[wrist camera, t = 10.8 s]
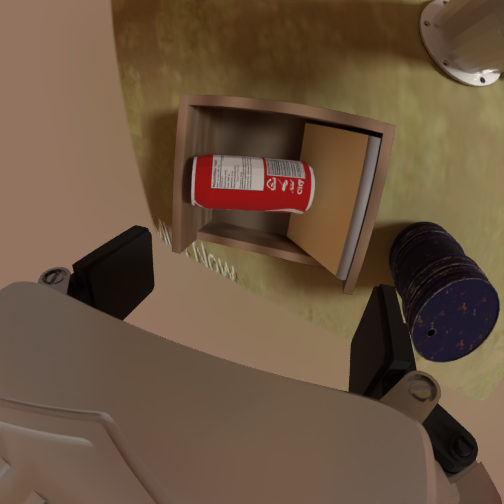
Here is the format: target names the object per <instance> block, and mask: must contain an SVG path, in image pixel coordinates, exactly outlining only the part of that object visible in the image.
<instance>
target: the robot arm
mask: <svg viewBox="0 0 504 504" xmlns="http://www.w3.org/2000/svg"><path fill="white" fill-rule="evenodd" d="M424 24H425V25H426V26H425V25H424ZM419 28H420V34H421V38H422V41H423V43H424V45H425V47H426V49H427V51H428V53H429V54H430V56H431V57H432V59H433V60H434V61H435V62H436V64H437V65H438V66H439V67H440V68H441V69H442V70H443V71H444V72H445V73H446V74H448V75H449V76H450V77H452V78H453V79H455V80H457V81H458V82H460V83H462V84H465V85H468V86H472V87H484V86H488V85H491V84H493V83H494V82H495V81H496V80H497V79H498V78H499V77H500V75H501V73H502V72H504V0H434V1H432V2H430V3H429V4H428V5H427V6H426V7H425V8H424V10H423V11H422V13H421V16H420V20H419ZM443 63H444V64H445V65H444V64H443ZM480 80H481V81H480ZM72 266H73V271H74V273H73V274H71V273H70V271H69V270H68V269H67V268H64V267H56V268H52V269H49V270H47V271H45V272H44V273H43V274H42V275H41V276H40V278H39V280H38V283H35V282H14V283H12V284H10V285H8V286H6V287H4V288H3V289H1V290H0V504H502V500H501V497H500V495H499V493H498V491H497V489H496V487H495V485H494V483H493V482H492V480H491V478H490V476H489V474H488V472H487V471H486V469H485V467H484V466H483V464H482V462H480V463H477V461H476V460H475V459H476V457H477V453H478V447H477V443H476V440H475V438H474V437H473V436H472V435H471V434H470V433H469V432H468V431H467V430H466V429H465V428H464V427H463V426H462V425H461V424H460V423H459V422H457V421H456V420H455V419H454V418H453V417H452V416H451V415H450V414H449V413H447V411H446V410H444V409H443V408H442V407H441V406H440V405H439V404H438V401H439V399H440V397H441V389H440V386H439V384H438V382H437V381H436V380H435V379H434V378H433V377H432V376H431V375H429V374H427V373H425V372H422V371H417V369H416V364H415V358H414V353H413V348H412V343H411V339H410V334H409V330H408V326H407V324H405V323H403V319H402V314H401V310H400V306H399V302H398V298H397V294H396V290H395V287H393V286H388V285H384V284H380V285H379V287H376V286H375V287H374V288H373V291H372V293H371V296H370V299H369V301H368V304H367V306H366V309H365V311H364V313H363V316H362V318H361V321H360V323H359V325H358V328H357V330H356V332H355V334H354V337H353V339H352V342H351V353H350V376H349V392H347V391H342V390H338V389H334V388H330V387H325V386H321V385H317V384H313V383H309V382H304V381H300V380H296V379H292V378H288V377H284V376H280V375H276V374H273V373H269V372H265V371H262V370H258V369H255V368H252V367H248V366H245V365H241V364H238V363H235V362H232V361H228V360H225V359H222V358H219V357H216V356H213V355H210V354H207V353H204V352H201V351H199V350H196V349H193V348H190V347H187V346H185V345H182V344H179V343H176V342H174V341H171V340H169V339H166V338H163V337H161V336H158V335H156V334H153V333H151V332H148V331H146V330H143V329H141V328H139V327H136V326H134V325H131V324H129V323H127V322H124V321H123V320H124V319H125V318H126V317H127V316H128V315H129V314H130V313H131V312H132V311H133V310H134V309H135V308H136V307H137V306H138V305H139V304H140V303H141V302H142V301H143V300H144V299H145V298H146V297H147V296H148V295H149V294H150V293H151V292H152V290H153V288H154V271H153V255H152V235H151V233H150V232H149V230H148V228H146V227H141V226H137V225H135V226H133V227H131V228H130V229H128V230H126V231H125V232H123V233H121V234H120V235H119V236H116V237H115V238H113V239H112V240H110V241H108V242H107V243H105V244H104V245H102V246H100V247H99V248H97V249H96V250H94V251H93V252H91V253H90V254H88V255H86V256H85V257H83V258H82V259H81V260H79V261H77V262H76V263H74V264H73V265H72Z"/></svg>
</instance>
